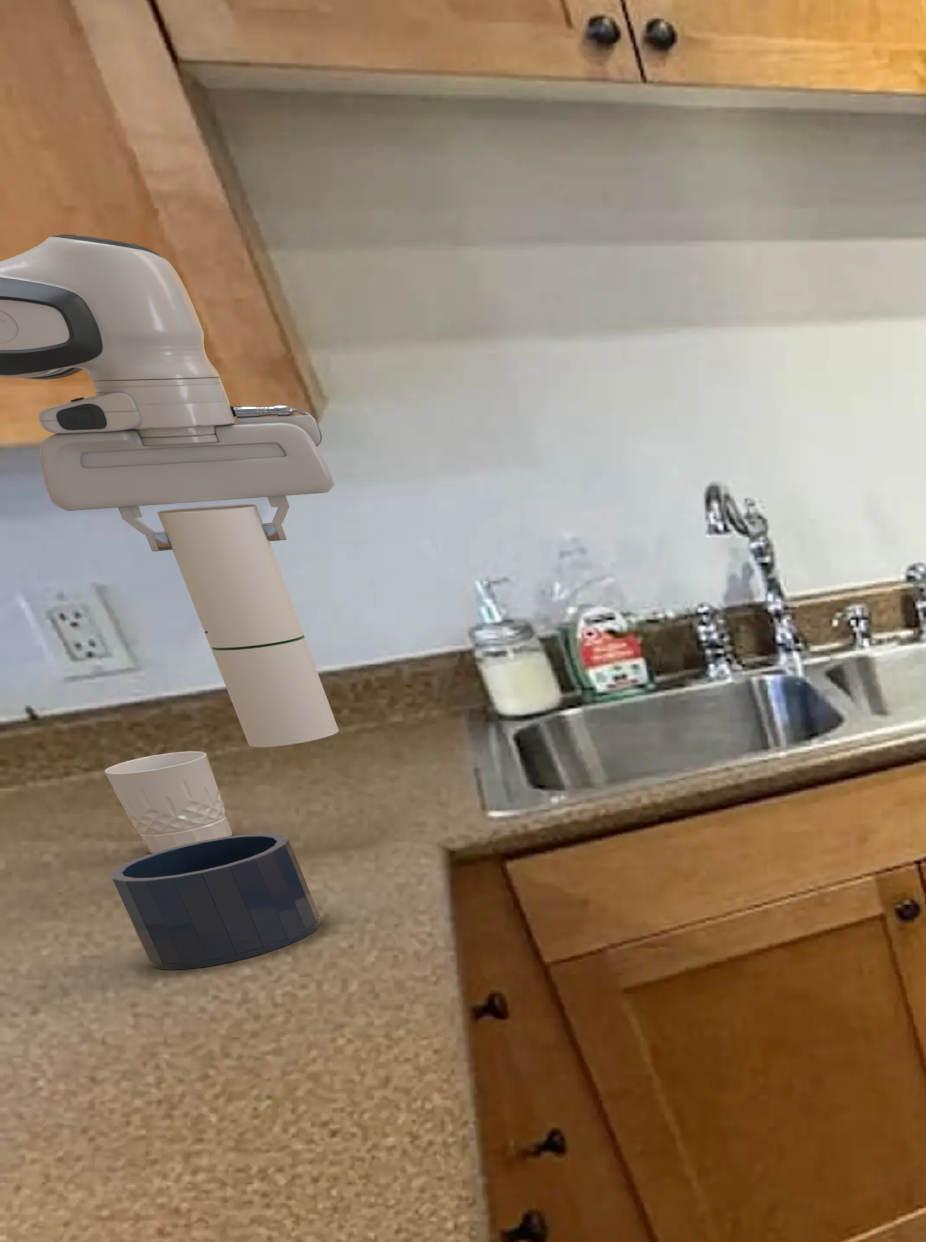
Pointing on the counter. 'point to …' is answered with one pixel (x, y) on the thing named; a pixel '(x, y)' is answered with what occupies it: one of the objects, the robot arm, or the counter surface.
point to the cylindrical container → (250, 623)
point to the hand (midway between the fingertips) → (220, 545)
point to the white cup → (170, 799)
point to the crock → (216, 900)
